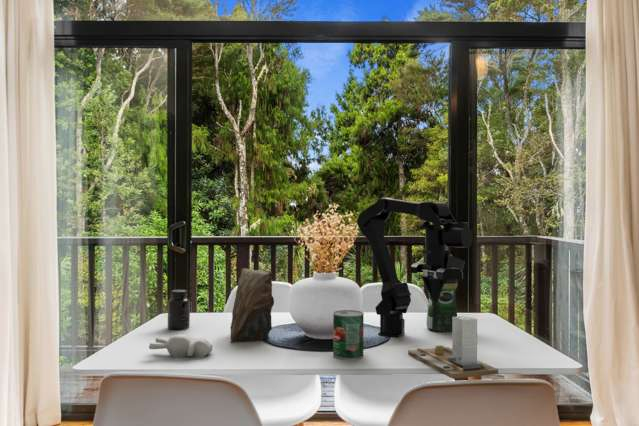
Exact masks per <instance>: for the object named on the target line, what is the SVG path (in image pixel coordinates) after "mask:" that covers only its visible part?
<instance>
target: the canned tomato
mask: <svg viewBox="0 0 639 426" xmlns="http://www.w3.org/2000/svg"><path fill="white" fill-rule="evenodd" d="M332 315H333V319H332V321H333V323H332V324H333V326H332V327H333V335H332V336H333V337H332V341H333V343H332V345H333V346H332V347H333V348H332V349H333V350H332V351H333V353H332V355H333V357H335V358H337V359H338V360H339V359H340V360H345V361H346V360H348V361H349V360H359V359H362V358H363V357H364V331H365V330H364V323H365V322H364V315H365V314H364V312H362V311H360V310H351V309H342V310H341V309H340V310H336V311H333V312H332Z"/></svg>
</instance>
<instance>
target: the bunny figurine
mask: <svg viewBox="0 0 639 426" xmlns="http://www.w3.org/2000/svg"><path fill="white" fill-rule="evenodd" d="M148 348H149V350H161V349H166V350H167V352H168V354H169V355H170V357H172V358H185V357H193V356H194V357H196V358H203V357H205V356H206V355H207V354H208V355H210V354H211V352H212V350H213V343H210V342H209V340H207V339H206V338H203V337H201V338H196V337H193V336H191V335H188V334H186V333H185V334H184V333H177V334H175V335H173V336H170V337H169V338H168V339H167V338H164V337H156V338H155V342H150V343H149V346H148Z"/></svg>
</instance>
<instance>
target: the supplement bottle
mask: <svg viewBox="0 0 639 426" xmlns="http://www.w3.org/2000/svg"><path fill="white" fill-rule="evenodd" d="M187 296H188V291H187V290H186V289H173V290H171V294H170V297H171V298H170V299H169V300H168V301H167V329H168V330H171V331H182V330H187V329H189V328H190V321H191V318H190V317H191V316H190V314H191V302H190V299H188V298H187Z"/></svg>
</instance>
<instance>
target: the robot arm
mask: <svg viewBox="0 0 639 426" xmlns="http://www.w3.org/2000/svg"><path fill="white" fill-rule="evenodd" d="M449 207H450V206H449V205H448V204H447V202H444V201H420V202H417V201H409V200H401V199H396V198H393V197H381V198H379V199H378V200H377V201H376V202H375V203H373V204H371V205H370V206H368V207H367V208H365V209H364V210H363V211H362V212H360V213H359V214H358V217H357V218H356V223H357V226H358V228H359V230H360V233H361V234H362V235H363V237H365V238H366V239H367V241H368V243H369V246H370V250H371V252H372V255H373V258H374V261H375V264H376V268H377V271H378V274H379V276H380V281H381V283H382V286H381V290H380V296H381V300H380V301H379V303H378V304H376V306H375V307H374V308H375V312H376V315H377V316H378V315H379V317H380V318H379V319H380V320H379V323H380V324H379V326H380V327H379V328H380V329H379V332H378V333H377V334H378V335H379V336H385V337H386V336H388V337H396V338H398V337H399V338H400V337H401V336H403V334H405V328H406V327H405V320H406V319H404V314H407V311H408V308H409V306H410V304H411V303H412V299H411V296H412V293H411V292H410V289H409V284H408V283H407V282H402V281H401V280H400V279H399V277H398V274H397V272H396V269H395V264H394V262H393V259H392V257H391V253H390V251H389V248H388V245H387V242H386V239H385V232H386V223H385V222H387V220H388V219H389V218H390V216H391V213H392V212H393V213H399V214H406V215H411V216H414V217H416V218H418V219H420V220H422V221H424V222H423V223H422V224H421V225H420V226H419V227H418V230H421V231H424V233H425V236H424V237H425V239H424V240H425V241H424V242H425V243H424V246H425V247H424V249H422V254H424V255H425V256H424V257H425V258H424V262H422V263H421V262H416V263H415V262H414V263H413V264H411V266H410V273H411V274H418V273H422V275H420V278H421V279H422V281H423V283H424V285H425V286H426V289H427V291H428V294H429V293H430V296H431V298H432V300H433V301H434V302H438V299H439V296H440V293H441V290H442V288H443V285H444V283H445V282H447V281H448V280H451V279H457V280H463V279H464V272H463V270H464V267H465V263H466V261H465V260H463V259H461V258H458V257H455V256H454V255H452V254H451V251H450V250H449V249H447V247H448V248H464V249H465V248H467V249H468V248H470V247H471V246H472V243H473V242H474V241H473V240H474V234H473V232H472V229H471V228H470V227H469V223H468V221H467V222H463V221H462V222H457V220H456V219H455V217H454V216H453V215H452V213H451V211H450V208H449Z"/></svg>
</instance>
